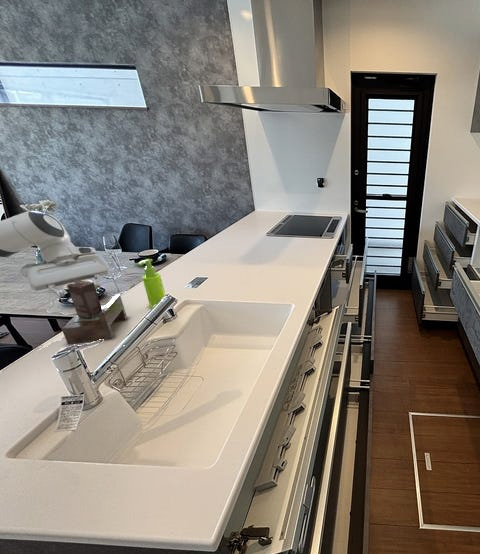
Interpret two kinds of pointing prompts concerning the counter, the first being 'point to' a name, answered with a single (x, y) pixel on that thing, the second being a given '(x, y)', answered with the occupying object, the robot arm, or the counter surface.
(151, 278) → the soap dispenser
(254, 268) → the counter surface
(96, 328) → the dark square tray
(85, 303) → the box
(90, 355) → the counter surface
